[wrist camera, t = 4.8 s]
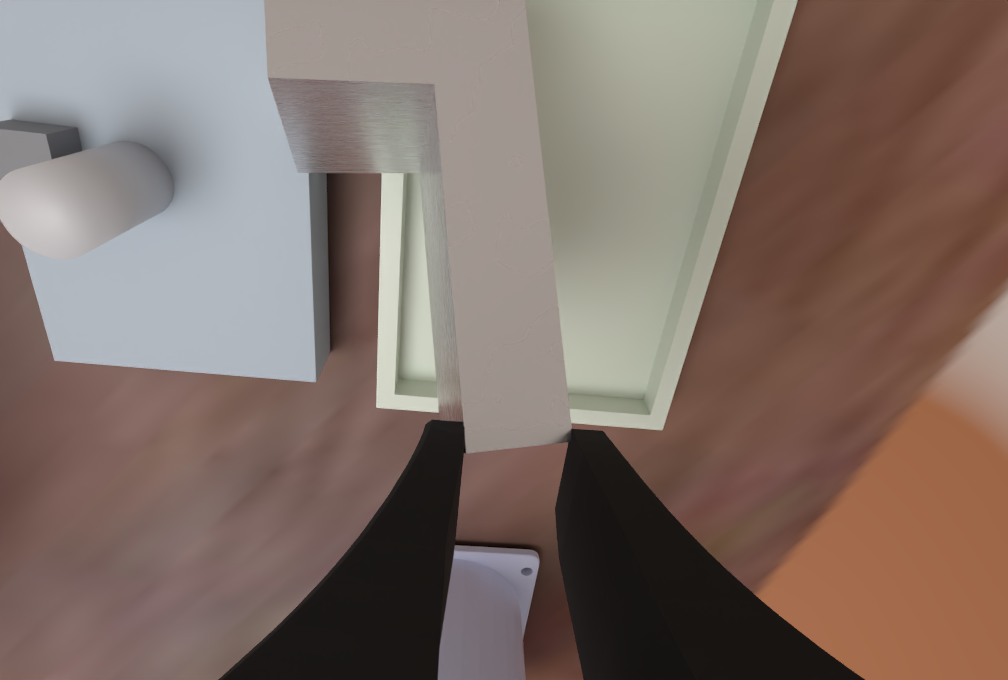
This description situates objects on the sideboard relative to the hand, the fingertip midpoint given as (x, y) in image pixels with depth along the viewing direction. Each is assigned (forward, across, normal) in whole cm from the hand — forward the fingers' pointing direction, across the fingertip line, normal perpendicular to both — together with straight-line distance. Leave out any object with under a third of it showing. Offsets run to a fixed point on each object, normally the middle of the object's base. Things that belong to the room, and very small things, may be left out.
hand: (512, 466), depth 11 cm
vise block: (+9, +10, -3) cm, 14 cm away
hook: (+5, +3, -2) cm, 6 cm away
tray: (+9, -1, -3) cm, 10 cm away
